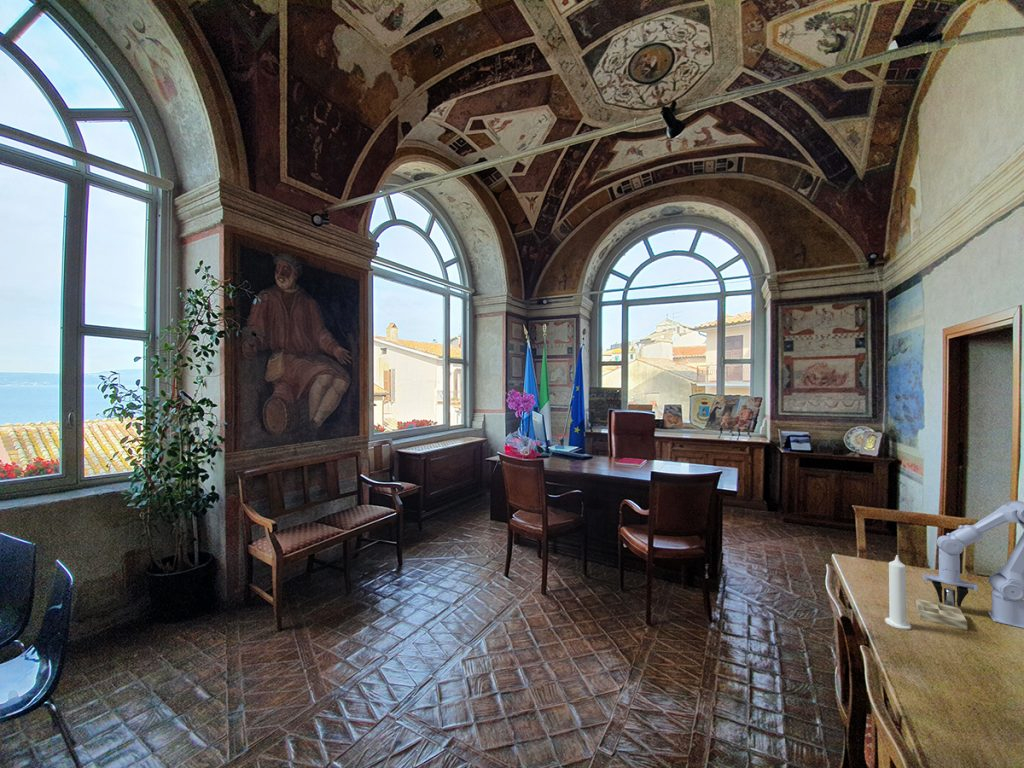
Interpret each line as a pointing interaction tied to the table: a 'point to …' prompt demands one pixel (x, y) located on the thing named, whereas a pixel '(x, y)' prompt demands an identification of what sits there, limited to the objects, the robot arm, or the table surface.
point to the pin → (949, 596)
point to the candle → (897, 595)
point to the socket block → (941, 614)
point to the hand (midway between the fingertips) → (949, 603)
